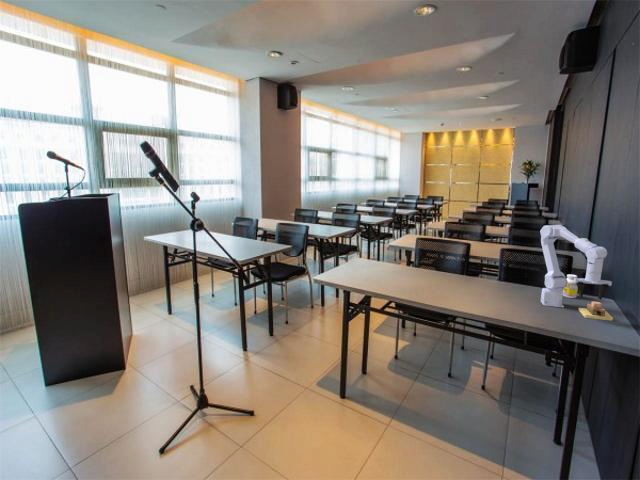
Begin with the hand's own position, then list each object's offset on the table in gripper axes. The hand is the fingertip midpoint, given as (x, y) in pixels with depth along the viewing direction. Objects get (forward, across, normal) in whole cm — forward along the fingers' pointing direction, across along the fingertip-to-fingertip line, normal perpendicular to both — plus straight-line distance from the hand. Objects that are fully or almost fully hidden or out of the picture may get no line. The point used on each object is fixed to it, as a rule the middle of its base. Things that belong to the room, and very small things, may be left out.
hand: (590, 297), depth 167 cm
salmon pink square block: (+6, +4, +4) cm, 8 cm away
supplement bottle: (+11, +1, +33) cm, 35 cm away
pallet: (+9, +4, +4) cm, 11 cm away
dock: (+10, +4, +4) cm, 12 cm away
